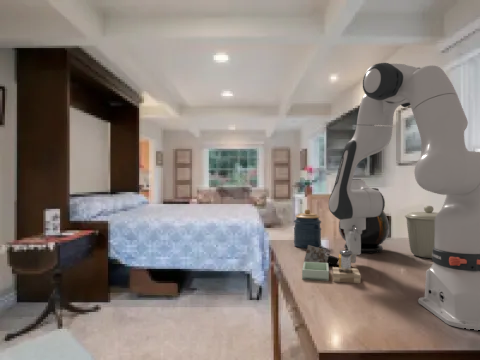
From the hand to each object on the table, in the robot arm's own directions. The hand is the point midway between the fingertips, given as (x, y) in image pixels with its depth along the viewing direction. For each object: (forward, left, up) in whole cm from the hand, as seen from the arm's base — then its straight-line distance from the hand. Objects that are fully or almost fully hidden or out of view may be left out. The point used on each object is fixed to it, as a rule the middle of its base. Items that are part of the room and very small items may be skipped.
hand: (352, 262), depth 127 cm
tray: (-14, +13, -2) cm, 19 cm away
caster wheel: (+2, +11, -2) cm, 11 cm away
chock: (0, +3, -2) cm, 4 cm away
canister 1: (+38, +17, -2) cm, 42 cm away
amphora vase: (+34, -8, -2) cm, 35 cm away
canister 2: (+27, -33, -2) cm, 42 cm away
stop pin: (-16, +3, -2) cm, 17 cm away
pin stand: (-16, +3, -2) cm, 17 cm away
